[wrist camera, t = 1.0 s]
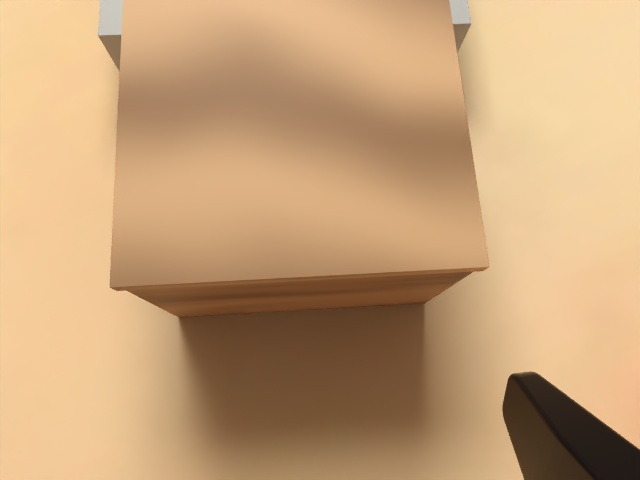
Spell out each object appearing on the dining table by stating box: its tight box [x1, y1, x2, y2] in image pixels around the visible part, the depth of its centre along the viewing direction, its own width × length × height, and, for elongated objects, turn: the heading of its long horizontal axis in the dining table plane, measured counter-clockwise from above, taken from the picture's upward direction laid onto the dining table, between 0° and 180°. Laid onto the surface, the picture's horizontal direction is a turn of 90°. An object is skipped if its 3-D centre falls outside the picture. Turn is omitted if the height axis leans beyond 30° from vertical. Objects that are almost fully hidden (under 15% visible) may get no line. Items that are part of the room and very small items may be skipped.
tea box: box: [110, 0, 489, 317], centre depth 20 cm, size 10×11×8 cm
